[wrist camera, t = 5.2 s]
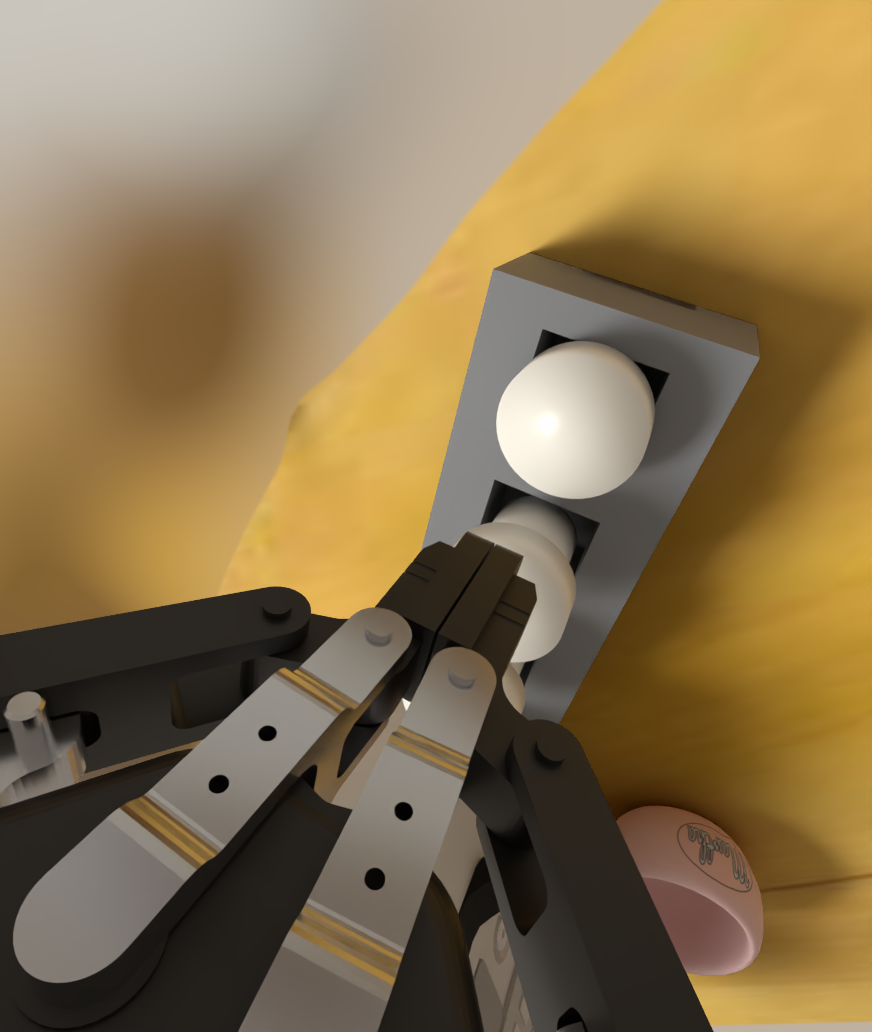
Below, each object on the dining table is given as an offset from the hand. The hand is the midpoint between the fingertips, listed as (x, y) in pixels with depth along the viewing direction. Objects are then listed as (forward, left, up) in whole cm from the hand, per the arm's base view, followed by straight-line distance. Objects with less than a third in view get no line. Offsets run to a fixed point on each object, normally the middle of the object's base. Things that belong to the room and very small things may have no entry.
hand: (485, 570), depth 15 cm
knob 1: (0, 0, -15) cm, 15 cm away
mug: (-15, +28, -17) cm, 36 cm away
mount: (0, +7, -17) cm, 18 cm away
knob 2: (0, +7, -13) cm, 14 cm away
